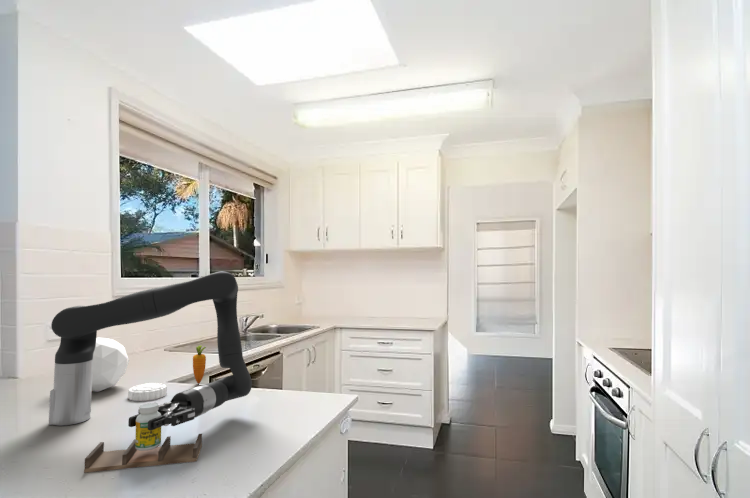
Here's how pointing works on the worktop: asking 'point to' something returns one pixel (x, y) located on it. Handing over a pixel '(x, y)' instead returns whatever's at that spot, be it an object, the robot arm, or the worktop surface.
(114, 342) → the ball
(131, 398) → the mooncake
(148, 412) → the supplement bottle
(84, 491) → the worktop surface
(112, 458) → the slot rack
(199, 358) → the carrot
